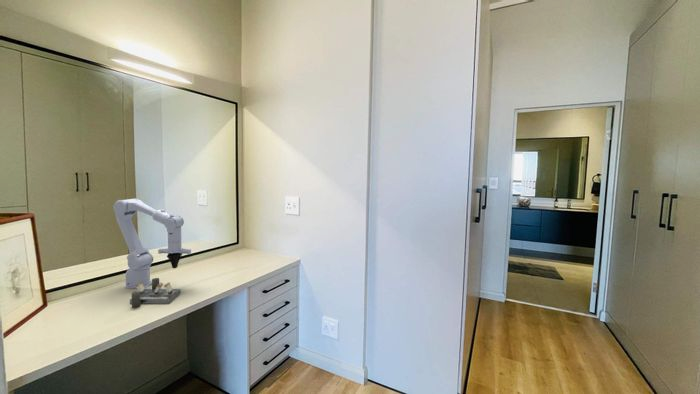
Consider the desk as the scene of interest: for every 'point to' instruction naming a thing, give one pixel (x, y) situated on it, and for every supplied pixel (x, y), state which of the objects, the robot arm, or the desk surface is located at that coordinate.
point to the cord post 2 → (155, 283)
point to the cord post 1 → (136, 299)
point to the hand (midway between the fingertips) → (175, 267)
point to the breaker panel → (157, 296)
